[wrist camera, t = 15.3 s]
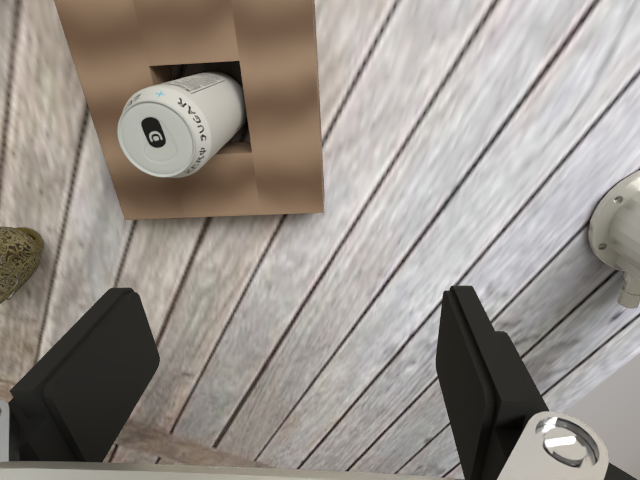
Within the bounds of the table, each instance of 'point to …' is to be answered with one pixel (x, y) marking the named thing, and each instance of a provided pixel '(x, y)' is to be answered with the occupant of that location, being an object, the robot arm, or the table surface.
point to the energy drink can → (181, 123)
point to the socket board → (258, 85)
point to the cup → (17, 258)
